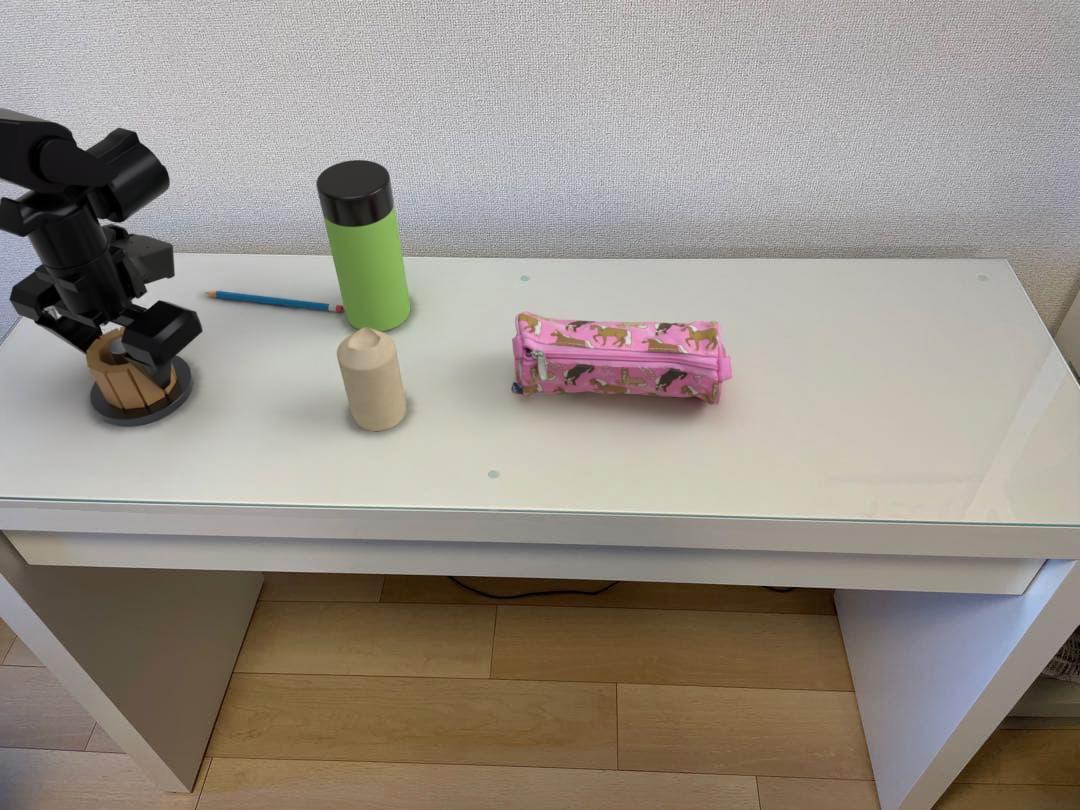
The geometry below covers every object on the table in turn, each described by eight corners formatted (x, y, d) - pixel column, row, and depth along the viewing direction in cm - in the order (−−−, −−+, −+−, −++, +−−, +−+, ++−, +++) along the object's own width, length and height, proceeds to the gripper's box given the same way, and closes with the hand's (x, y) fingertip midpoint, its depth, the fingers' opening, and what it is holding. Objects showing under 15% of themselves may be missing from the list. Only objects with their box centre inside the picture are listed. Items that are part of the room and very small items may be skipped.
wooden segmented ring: (110, 418, 85) (90, 382, 81) (101, 373, 90) (82, 337, 86) (181, 395, 87) (165, 359, 83) (169, 352, 92) (153, 317, 88)
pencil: (341, 313, 97) (340, 308, 97) (202, 297, 99) (200, 292, 99) (344, 309, 98) (343, 304, 97) (205, 292, 100) (204, 288, 99)
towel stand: (99, 439, 84) (73, 393, 80) (88, 376, 91) (63, 330, 86) (202, 406, 87) (182, 360, 83) (184, 347, 94) (164, 301, 89)
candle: (359, 390, 89) (342, 317, 81) (411, 394, 88) (398, 320, 81) (346, 430, 85) (326, 356, 78) (400, 433, 84) (386, 359, 77)
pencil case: (509, 416, 86) (505, 351, 79) (519, 353, 92) (516, 288, 86) (724, 428, 84) (738, 363, 78) (719, 363, 91) (731, 298, 84)
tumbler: (333, 311, 98) (299, 177, 85) (387, 282, 101) (361, 149, 88) (371, 342, 94) (341, 207, 81) (425, 311, 97) (404, 177, 85)
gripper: (216, 227, 78) (259, 352, 89) (67, 181, 84) (125, 304, 95) (127, 297, 71) (186, 423, 83) (-29, 242, 77) (46, 367, 88)
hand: (136, 375), depth 87 cm, fingers open, 8 cm apart
